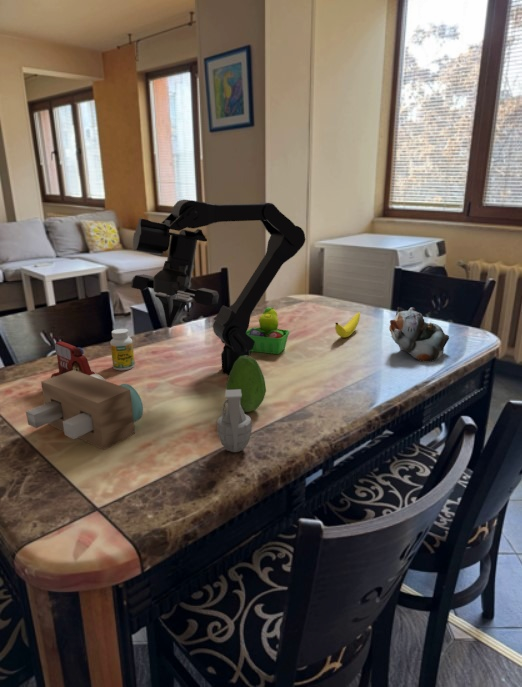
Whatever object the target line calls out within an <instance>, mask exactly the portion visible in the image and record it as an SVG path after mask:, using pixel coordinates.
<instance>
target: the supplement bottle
mask: <svg viewBox="0 0 522 687" xmlns="http://www.w3.org/2000/svg"><path fill="white" fill-rule="evenodd" d="M129 335H130V333H129V329H127V328H117V329H114V330H112V331H111V337H112V339H111V340H110V342H109V343H110V352H111V360H112V368H113V369H114V370H116V371H129V370H131V369H133V368H134V367H135V365H136V363H135V362H136V361H135V355H134V344H133V340H132V338H131V337H130V336H129Z"/></svg>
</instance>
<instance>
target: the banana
mask: <svg viewBox="0 0 522 687" xmlns="http://www.w3.org/2000/svg"><path fill="white" fill-rule="evenodd" d="M360 317H361V312H356V314H354V316H352V318H350V320H349V321H348V322H347V323H346V324H345V325H344V326H343V325H341V324H339V322H335V326H334V329H335V332H336V334H337V336H339V337H341V338H345V339H346V338H348V337H350V336H351V335H352V334H353V333H354V331H355V330H356V329H357V327H358V324H359V321H360Z"/></svg>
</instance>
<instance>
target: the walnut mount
mask: <svg viewBox="0 0 522 687" xmlns="http://www.w3.org/2000/svg"><path fill="white" fill-rule="evenodd" d="M40 382H41V388H42V390H41V391H42V395H43V401H44V402H43V403H44V404H42V405H39V406H37V407H34V408H31V409H29V410H26V411H25V414H26V421H27V424H28V425H29V426H31V427H33V428H35V429H38V428H40V427H43V426H45V425H49V426H52V427H54V428H56V429H58V430H60V431H62V432H64V427H63V421H65V420H67V419H69V418H72V417H74V416H76V415H79V414H81V413H83V412H85V413H87V414H90V415H92V423H93V430H92V431H90V432H88V433H86V434H83V435H81V436H79V437H77V438H78V439H80V440H82V441H84V442H86V443H88V444H90V445H93V446H95V447H97V448H99V449H101V450H103V451H104V450H106V449H108V448H110V447H112V446H113V445H116V444H118V443H120V442H122V441H124V440H125V439H127V438H129V437H131V436H133V435H135V433H136V432H135V422H134V421H133V412H132V402H131V393H130V389H128V388H125V387H122V386H119V385H120V384H116V383H112V382H109V381H107V380H106V379H105V378H104V377H103V376H102V375H100V374H99V373H96V374H92V375H87V374H84V373H81V372H78V371H75V370H72V371H69V372H66V373H64V374H61V375H58V376H55V377H52V378H51V377H50V378H47V379H44V380H41V381H40ZM77 438H76V439H77Z"/></svg>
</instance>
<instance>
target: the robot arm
mask: <svg viewBox="0 0 522 687" xmlns="http://www.w3.org/2000/svg"><path fill="white" fill-rule="evenodd" d="M171 210H172V211H171V213H170V214H168V215H167V217H165V219H163V220H162V221H161V222H157V221H152V220H150V219H146V218H142V217H140V218H139V219H138V224H137V225H136V228H135V232H133V238H132V248H133V251H134V252H135V251H136V252H142V253H146V254H153V255H158V256H161V255H162V256H163V253H164V252H167V251H168V252H167V253H168V254H167V259H166V260H165V261H164V264H163V268H162V269H161V270H160V271H158V272H157V273H156V274H155V275H154V276H153V275H148V274H143V273H142V274H136V275H134V276H133V277H132V278H131V279H132V280H131V284H130V288H133V289H136V290H141V291H145V290H147V289H148V288H149V289H152V290H153V292H154V293H156V294H154V297H155V298H158V300H160V303H161V304H162V309H163V313H164V317H165V318H164V319H165V323H166V327H167V328H173V326H174V324H175V323H176V321H177V319H178V318H179V316H180V314H181V313H182V311H183V310H184V309H185V308H186V306H187V305H188V304H190V303H194V301H195V302H196V304H200V305H204V306H209V307H213V306H215V305H217V304H218V302H219V297H220V294H219V291H217V290H213V289H209V288H204V287H202V288H197V289H193V288H191V287H192V282H191V280H192V274H193V270H195V264H194V262H195V256H196V252H197V250H196V249H197V244H198V241H200V242H208V238H207V237H206V235H204V233H203V231H202V229H200V228H202V227H207V226H210V225H212V224H216V223H221V222H222V223H223V222H246V221H248V222H250V221H255V222H256V221H260V222H261V224H262V226H263V228H264V229H265V231H267V233H268V234H269V235H270V237H269V239H268V241H267V247H266V252H265V255H264V256H263V258H262V260H260V262H259V264H258V266H257V267H256V269H255V270H254V272H253V274H252V275H251V276H250V278H249V280H248V281H247V283H246V284H245V286H244V288H243V289H242V290H241V292H240V294H239V295H238V296H237V298H236V300H235V301H234V302H233V303H232V304H231V305H230V306H225V305H224V304H223V305H222V306H221V307H220V309H219V311H218V313H217V314H216V316H214V317H213V320H214V322H213V325H212V328H213V332H214V335H215V336H217V338H219V339H220V341H221V343H222V344H224V346H223V348H222V349H223V350H222V351H221V354H220V358H221V369H222V374H224V375H225V374H226V375H230V372H231V370H232V368H233V365H234V363H235V361H236V360H237V359H238V358H239V357H240V356H243V355H248V356H250V357H252V356H251V354H252V353H251V352H252V351H251V350H252V349H253V346H254V343H255V341H254V340H253V339H251V338H250V337H249V336H248V335H247V334H246V332H247V331H248V330H249V328H250V323H251V317H252V316H251V315H252V313H253V311H254V310H255V309H256V306H257V305H258V304H259V303H260V301H261V299H262V297H263V296H264V294H265V293H266V291H267V289H268V288H269V286H270V285H271V283H272V281H273V280H274V279H275V277H276V275H277V274H278V272H280V270H281V268H282V266H283V265H284V264H285V263H287V261H289V260H290V259H292V258H293V257H294V256H296V254H297V253H298V252H299V251H300V250H301V249H302V248H303V246H304V245H305V243H306V240H307V239H306V235H305V232H304V230H303V228H302V227H301V226H298V225H295V224H294V222H293V221H292V220H290V218H288V217H287V216H286V215H285V214H283V212H281V211H280V210H279V208H278V207H277V206H276V205H275V204H274V203H273V202H265V201H264V202H259V203H218V204H217V203H216V204H215V203H210V202H204V201H198V200H192V199H191V200H190V199H180V200H178V201H177V202H176V203H175V204H174V206H173V207H172V209H171ZM186 228H188V229H196V230H194V231H193V230H188V229H186ZM170 230H172V231H178V232H179V233H176V232H172V231H170Z"/></svg>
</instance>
